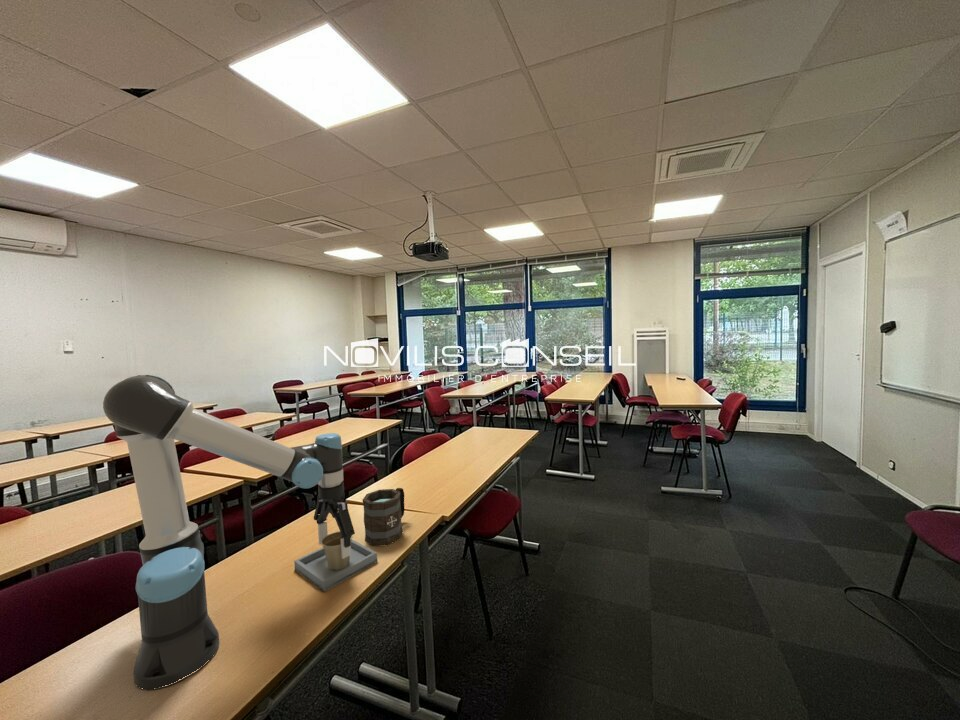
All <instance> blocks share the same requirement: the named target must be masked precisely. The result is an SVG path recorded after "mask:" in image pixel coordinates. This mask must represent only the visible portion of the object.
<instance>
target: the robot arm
mask: <svg viewBox="0 0 960 720" xmlns="http://www.w3.org/2000/svg"><path fill="white" fill-rule="evenodd" d="M102 409H103V412H104V414H105V417H107V419H108V420H109V421H110V422H111V423H113V424H114V429H115V433H116V437H117V438H119V439H120V440H122V441H125V442H126V443H127V448H128V452H129V459H130V464H131V467H132V469H131V470H132V473H133V477H134V484H135V489H136V492H137V493H136V494H137V499H138V503H139V508H140V514H141V519H142V523H143V528H144V533H145V537H144V538H143V539H142V540H141V542H139V545H138V546H139V547H138V548H139V552H140V557H141V562H142V566H141V567H140V568H139V570H138V573H137V575H136V582H135V592H136V594H137V601H138V613H139V621H140V622H139V624H140V625H139V626H140V633H141V643H140V647H139V650H138V654H137V657H136V661H135V664H134V667H133V681H134V684H136V685H137V686H138V687H140V688H143V689H142V690H144V689H154V688H159V687H162V686H165V685H169V684H171V683H174V682H176V681H178V680H179V679H182V678H183V677H185V676H187V675H189V674H191V673H192V672H194V671H196V670H197V669H199V668H200V667H201V666H203V665H204V664H205V663H206V662H207V661H208V660H210V659H211V658H212V659H213V658H214V656H215V655H216V653H217V652H218V650H219V647H220V635H219V631H218V629H217V627H216V626H215V624H214V622H213V621H212V620H213V619H211V617H210V615H209V612H208V604H207V603H208V602H207V601H208V600H207V590H206V577H205V567H206V566H205V565H206V564H205V559H204V557H205V556H204V554H205V547H204V542H203V541H202V539H201V534H200V529H199V525H198V524H197V523H195V522H193V521H190V517H189V512H188V507H187V501H186V496H185V495H186V494H185V490H184V486H183V479H182V474H181V470H180V465H179V459H178V453H177V448H176V443H175V440H176V441H178V442H181V443H184V444H187V445H188V446H189V445H190V446H192V447H195V448H197V449H200V450H203V451H206V452H209V453H212V454H214V455H218V456H220V457H222V458H223V457H224V458H226V459H229V460H230V461H231V460H232V461H233V462H237V463H239V464H242V465H245V466H248V467H251V468H254V469H257V470H259V471H261V472H262V471H263V472H265V473H268V474H271V475H274V476H276V477H278V478H281V479H284V480H286V481H289V482H292V483H293V484H294V485H295V486H297V487H298V488H300V489H311V488H313V487H315V486H317V485H318V487H317V489H318V490H317V492H318V494H317V498H316V499H317V500H316V505H315V511H314V515H313V521H316V524H317V531H318V545H320V546H322V545H321V540H322V539H323V538H324V537H325V536H327V535H329V533H328V531H329V530H328V522H327V520H328V519H327V518H328V516H329V514H330V515H331V517H332V518H333V519H334V520H335V522H336V525H337V527H338V529H339V530H338V531H340V532H341V534H342V536H341V555H342V559H344V558H346V557H348V556H349V555H351V543H350V536H351V535H353V536H354V535H355V534H356V532H355V529H354V526H353V523H352V522H353V521H352V518H351V516H350V512H349V508H348V502H347V501H344V502H343V501H342V498H341V497H342V496H343V495H344V494H345V485H344V484H345V483H344V465H343V445H342V444H343V443H342V437H341V435H340V434H339V433H335V432H329V433H328V432H327V433H322V434H319V435H317V436H316V437H315V440H314V442H313V443H310V444H303V445H297V446H292V447H289V446H286V445H283V444H281V443H279V442H276V441H273V440H272V439H270V438H267V437H265V436H262V435H260V434H257V433H254V432H253V431H250V430H248V429H246V428H243V427H240V426H238V425H236V424H234V423H231V422H228V421H226V420H223V419H221V418H218V417H216V416H215V415H211V414H209V413H206V412H204V411H201V410H199V409H197V408H195V407H194V406H193V404H192V401H190V400H188V399H185V398H183V397H181V396H179V395H177V394H176V391H175V389H174V388H173V386H172V385H171V384H170V383H169V382H168V381H166V380H165V379H164V378H162V377H159V376H156V375H151V374H139V375H134V376H129V377H128V378H125V379H124V380H120V381H119V382H117V383H116V384H114V385H113V386H112V387H111V388H109V390H108V391H107V392H106V394H105V396H104V399H103V402H102ZM214 654H215V655H214ZM213 655H214V656H213ZM212 659H211V660H212ZM211 660H210V661H211ZM204 666H205V665H204ZM204 666H203V667H204ZM136 685H135V686H136ZM137 686H136V687H137ZM138 687H137V688H138ZM140 688H139V689H140ZM154 690H155V689H154Z"/></svg>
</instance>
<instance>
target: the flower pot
mask: <svg viewBox="0 0 960 720" xmlns="http://www.w3.org/2000/svg"><path fill="white" fill-rule="evenodd" d="M341 536H342V534H341V532H340V530H338V531H334V532H331V533H328V535H327V536H325V537H324V538H323V539H322V540H321V545H320V546H322V548H324V550H325V554H326V558H327V563H328V567H329V569H330V570H340V569H343V568H345V567H346V566H347V565H348V564H349V561H350V555H349V556H348V557H346V558H344V559H342V555H341ZM353 537H354V535H351V536H350V543H351V541H352V540H353Z"/></svg>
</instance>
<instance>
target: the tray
mask: <svg viewBox="0 0 960 720" xmlns="http://www.w3.org/2000/svg"><path fill="white" fill-rule="evenodd" d="M293 562H294V571H295V572H297V573H298V574H299V575H300V576H302V577H304V578H305V579H306V580H308V581H309V582H310V583H312V584H313V585H314V586H315V587H316V588H318V589H319V590H321V591H322V592H324V593H326V592H327V591H329V590H330V589H332V588H334V587H336V586H337V585H339V584H341V583H343V582H345V581H347V580H348V579H350V578H352V577H354V576H355V575H357V574H359V573H361V572H362V571H364V570H365V568H366V569H367V568H370V567H371V566H373V565H374V564H376V563H378V552H377V551H374V550H373V549H370V548H369V547H367V546H365V545H363V544H362V543H360V542H358V541H356V540H354V539H352V541H351V555H350V561H349V564H348V565H347V566H346V567H345V568H343V569H340V570H330V569H329V567H328V563H327V558H326V554H325V550H324V548H323V547H321V548H318V549H316V550H315V551H312V552H310V553H307V554H305V555H304V556H302V557H300V558H297V559H296V560H293ZM375 562H376V563H375ZM372 564H373V565H372ZM370 565H371V566H370ZM358 572H359V573H358Z"/></svg>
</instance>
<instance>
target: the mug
mask: <svg viewBox="0 0 960 720" xmlns="http://www.w3.org/2000/svg"><path fill="white" fill-rule="evenodd" d="M361 501H362V505H363V524H364V542H366V543H367V544H368V545H370V546H371V547H378V546H379V547H380V545H387V546H389V545H391V544H393V543H395V541H396V542H398V541H400V540H399V539H401V538H400V537H402V535H403V533H404V531H403V527H402V526H403V525H402V518H403V517H404V515H405V492H404V488H402V487H396V489H394V488H388V489H386V488H385V489H378V490H373V491H371V492H368V493H366V494H365V495H364V496H363V498H362V500H361ZM402 532H403V533H402ZM397 540H398V541H397ZM392 542H393V543H392ZM388 544H389V545H388Z"/></svg>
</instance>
